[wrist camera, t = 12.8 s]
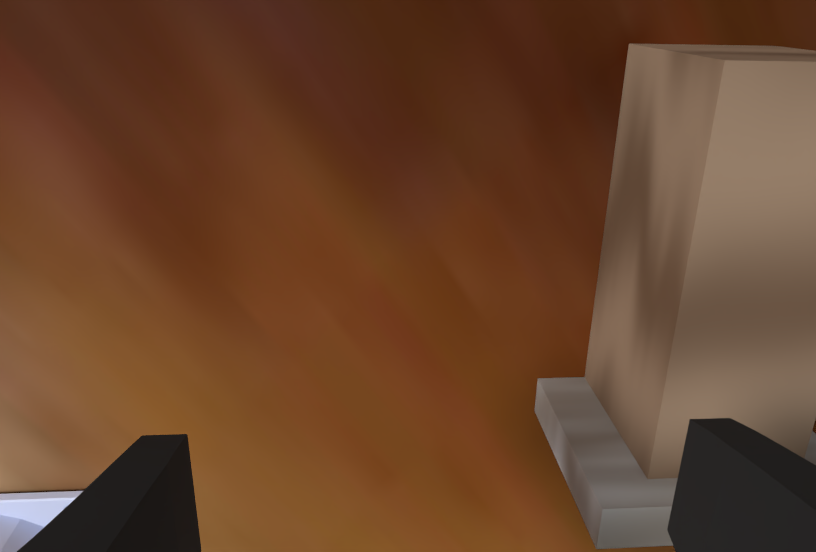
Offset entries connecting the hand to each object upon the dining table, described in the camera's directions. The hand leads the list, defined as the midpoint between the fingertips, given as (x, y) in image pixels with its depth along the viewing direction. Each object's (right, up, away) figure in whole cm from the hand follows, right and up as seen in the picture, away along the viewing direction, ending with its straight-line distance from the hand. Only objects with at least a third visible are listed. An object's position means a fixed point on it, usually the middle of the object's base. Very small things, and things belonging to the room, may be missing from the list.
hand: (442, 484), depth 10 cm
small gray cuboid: (+7, +4, +10) cm, 13 cm away
